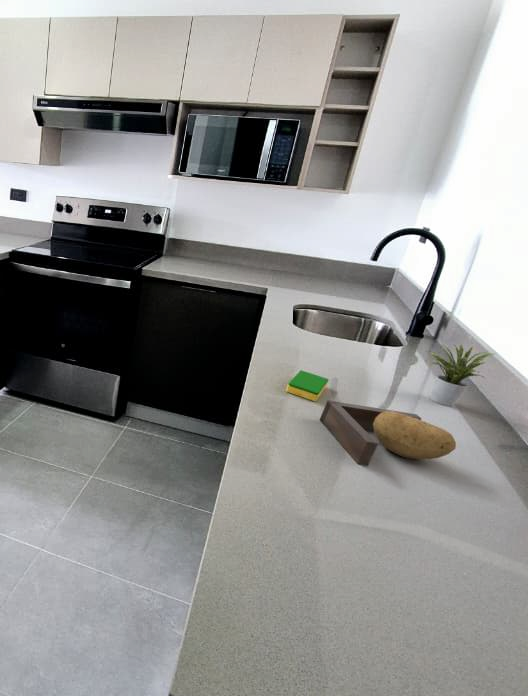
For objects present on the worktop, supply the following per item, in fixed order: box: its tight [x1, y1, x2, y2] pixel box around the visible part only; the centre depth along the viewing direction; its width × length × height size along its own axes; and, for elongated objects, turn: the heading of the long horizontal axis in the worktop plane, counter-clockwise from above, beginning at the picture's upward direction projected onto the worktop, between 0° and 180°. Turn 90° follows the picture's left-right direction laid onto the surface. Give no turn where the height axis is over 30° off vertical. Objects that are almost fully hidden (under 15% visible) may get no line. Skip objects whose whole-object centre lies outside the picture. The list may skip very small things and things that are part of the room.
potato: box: [373, 410, 457, 460], centre depth 101 cm, size 10×14×8 cm
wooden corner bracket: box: [319, 399, 422, 466], centre depth 103 cm, size 20×18×5 cm
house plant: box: [426, 341, 495, 407], centre depth 131 cm, size 14×14×16 cm
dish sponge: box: [285, 369, 330, 402], centre depth 128 cm, size 7×14×2 cm, turn 143°
